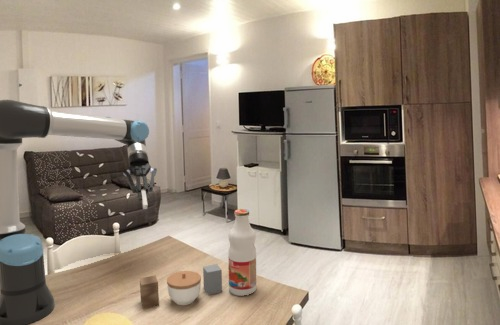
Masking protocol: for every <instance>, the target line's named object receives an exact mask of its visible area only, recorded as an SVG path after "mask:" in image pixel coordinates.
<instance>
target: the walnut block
mask: <svg viewBox="0 0 500 325" xmlns="http://www.w3.org/2000/svg"><path fill="white" fill-rule="evenodd" d="M139 290H140V303H141V307H142V310H146V309H150V308H155V307H160V297H159V281H158V279H157V275H156V274H155V275H149V276H145V277H140V278H139Z"/></svg>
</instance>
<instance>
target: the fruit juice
mask: <svg viewBox="0 0 500 325" xmlns="http://www.w3.org/2000/svg"><path fill="white" fill-rule="evenodd" d="M233 213H234V217H235V219H234V223H233V225H232V228H231V229H230V231H229V233H228V241H229V247H228V255H227V256H228V289H229V292H230V293H231V294H232V295H234V296H238V297H239V296H240V297H245V296H244V295H247V296H250V295H249V294H251V293H253V292H254V291H255V292H256V291H257V290H256V289H257V248H256V245H255V242H256V239H257V236H256V231H255V230H254V229H253V227H252V226H251V224H250V219H249V216H250V210H249V209H246V208H238V209H236V210H234V212H233ZM255 292H254V293H255ZM254 293H253V294H254ZM251 295H252V294H251Z"/></svg>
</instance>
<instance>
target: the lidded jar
mask: <svg viewBox="0 0 500 325" xmlns="http://www.w3.org/2000/svg"><path fill="white" fill-rule="evenodd" d="M201 278H202V277H201V274H200V273H198V272H196V271H193V270H182V271H177V272H174V273H172V274H170V275H169V276H167V279H166V285H167V291H168V292H167V293H168V295H169V297H170V299H171V300H172V301H173V302H174V303H175V305H177V306H188V305H191V304H193V303H194V302H195V300H196V299H197V298H198V296H199V294H200V291H201V286H202V285H201V284H202V283H201Z"/></svg>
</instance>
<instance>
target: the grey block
mask: <svg viewBox="0 0 500 325" xmlns="http://www.w3.org/2000/svg"><path fill="white" fill-rule="evenodd" d="M202 271H203V272H202V273H203V275H202V276H203V278H202V280H203V290H204V292H206V294H207V296H211V295H214V294H219V293H222V292H223V278H222V277H223V276H222V274H223V273H222V268H221V267H220V266H219V265H218V264H217V263H216V264H211V265H204V266H202Z"/></svg>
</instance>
